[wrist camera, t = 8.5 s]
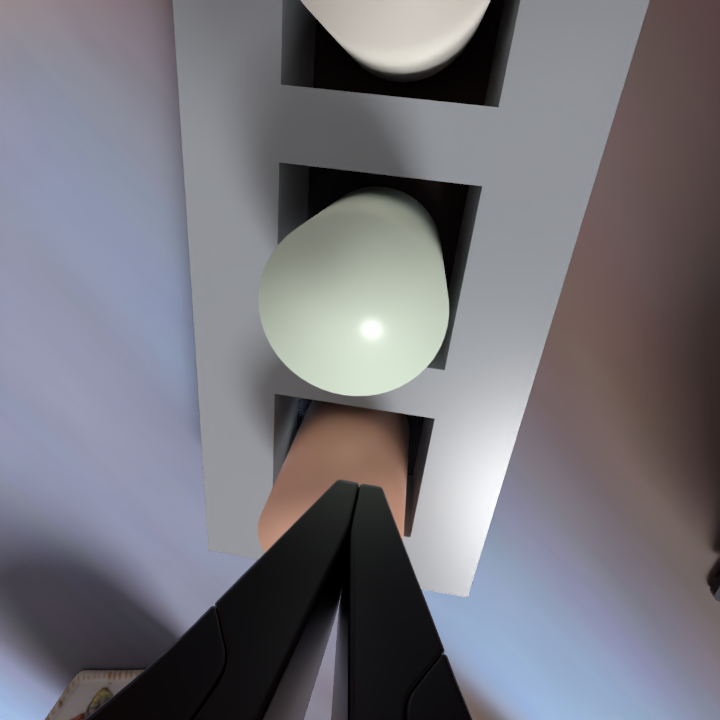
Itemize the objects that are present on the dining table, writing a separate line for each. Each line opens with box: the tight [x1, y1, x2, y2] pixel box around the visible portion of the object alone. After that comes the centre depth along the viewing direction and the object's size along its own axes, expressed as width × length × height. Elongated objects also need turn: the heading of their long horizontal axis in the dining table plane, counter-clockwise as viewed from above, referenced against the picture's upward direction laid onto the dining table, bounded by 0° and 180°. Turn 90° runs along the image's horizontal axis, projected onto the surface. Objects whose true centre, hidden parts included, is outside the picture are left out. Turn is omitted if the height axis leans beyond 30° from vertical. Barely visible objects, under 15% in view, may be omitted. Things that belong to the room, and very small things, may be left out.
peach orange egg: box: [258, 400, 410, 553], centre depth 18 cm, size 5×5×6 cm
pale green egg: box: [258, 187, 449, 396], centre depth 14 cm, size 5×5×6 cm
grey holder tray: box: [173, 0, 650, 597], centre depth 17 cm, size 12×28×4 cm, turn 174°
